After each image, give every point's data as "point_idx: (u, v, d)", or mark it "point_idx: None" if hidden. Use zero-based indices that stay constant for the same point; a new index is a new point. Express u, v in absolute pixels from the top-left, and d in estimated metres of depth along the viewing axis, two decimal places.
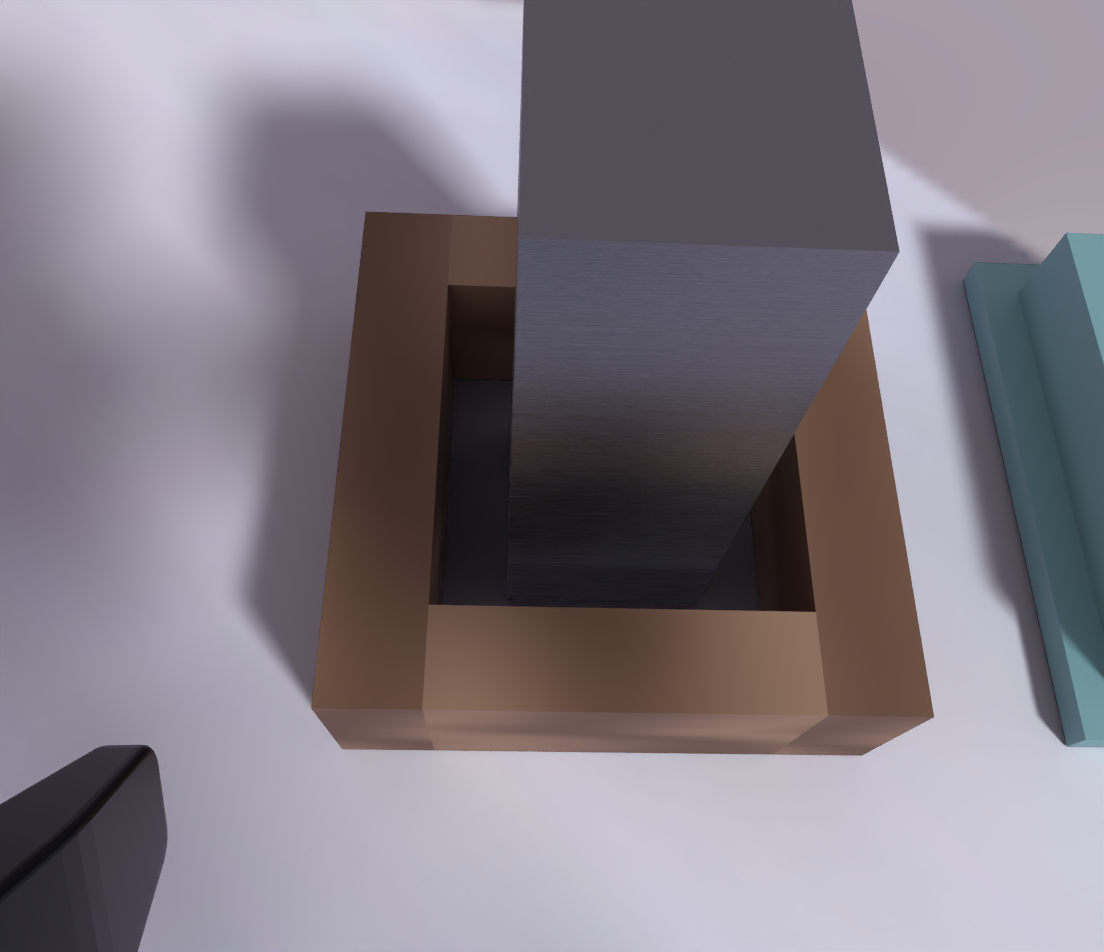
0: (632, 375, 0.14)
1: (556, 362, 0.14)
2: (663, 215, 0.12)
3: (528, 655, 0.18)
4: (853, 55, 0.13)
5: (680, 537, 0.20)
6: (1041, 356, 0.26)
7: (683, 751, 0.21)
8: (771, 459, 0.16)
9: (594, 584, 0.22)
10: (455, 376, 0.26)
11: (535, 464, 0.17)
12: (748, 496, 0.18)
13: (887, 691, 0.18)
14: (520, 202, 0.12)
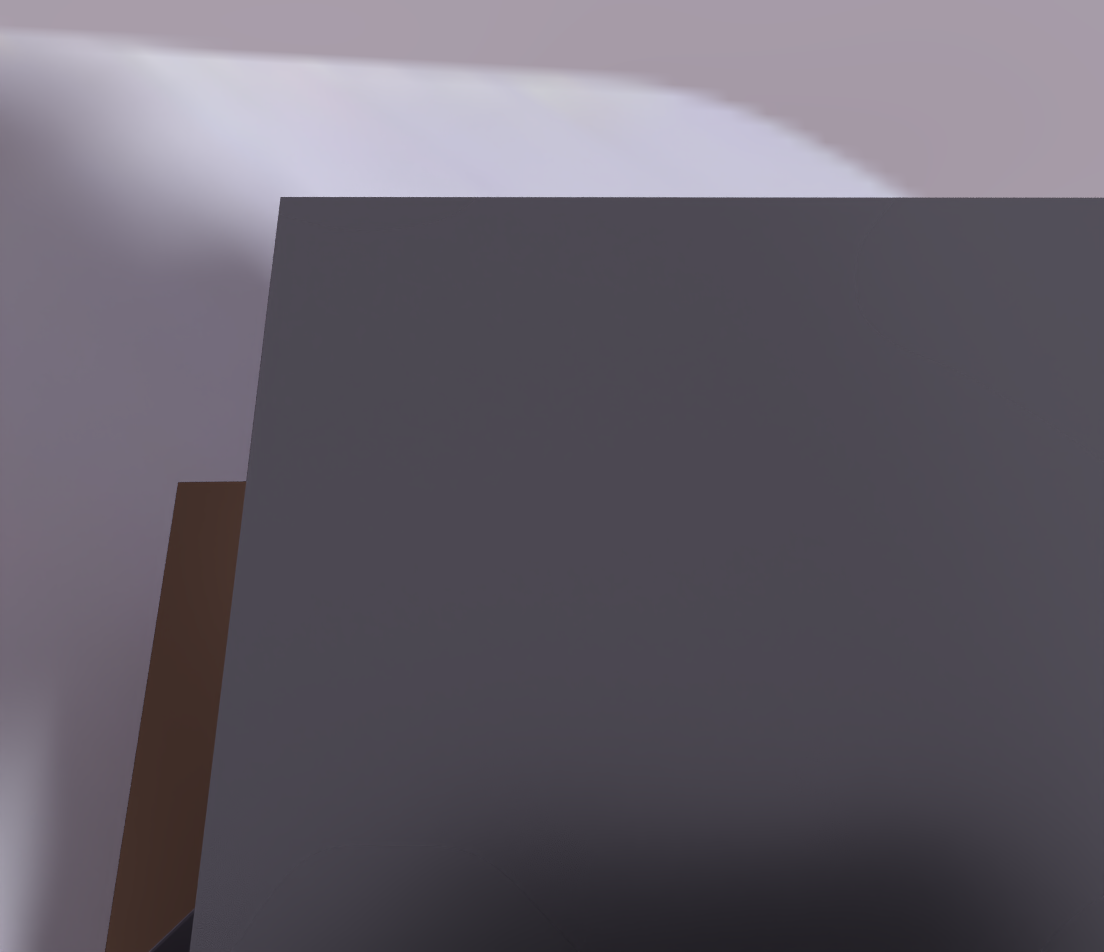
0: None
1: None
2: None
3: None
4: None
5: None
6: None
7: None
8: None
9: None
10: None
11: None
12: None
13: None
14: None
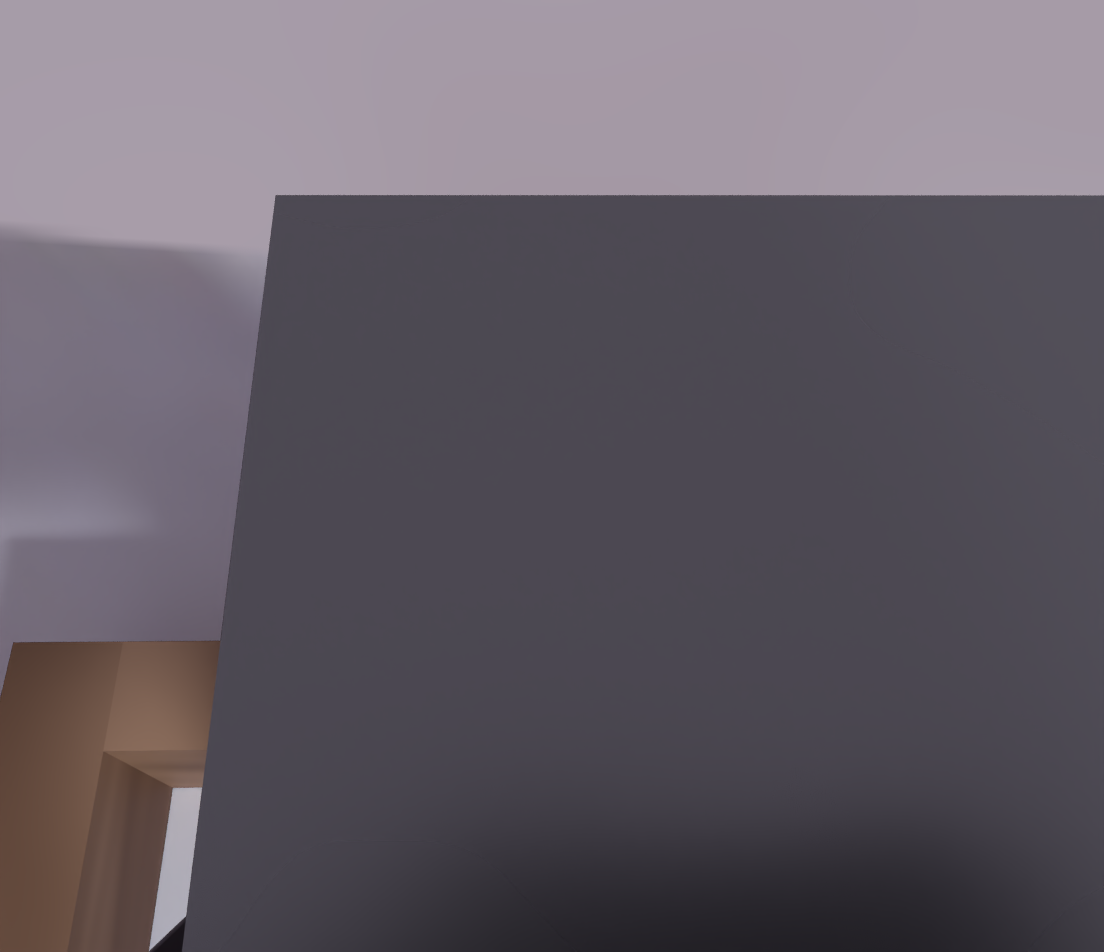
0: None
1: None
2: None
3: None
4: None
5: None
6: None
7: None
8: None
9: None
10: (172, 786, 0.21)
11: None
12: None
13: None
14: None
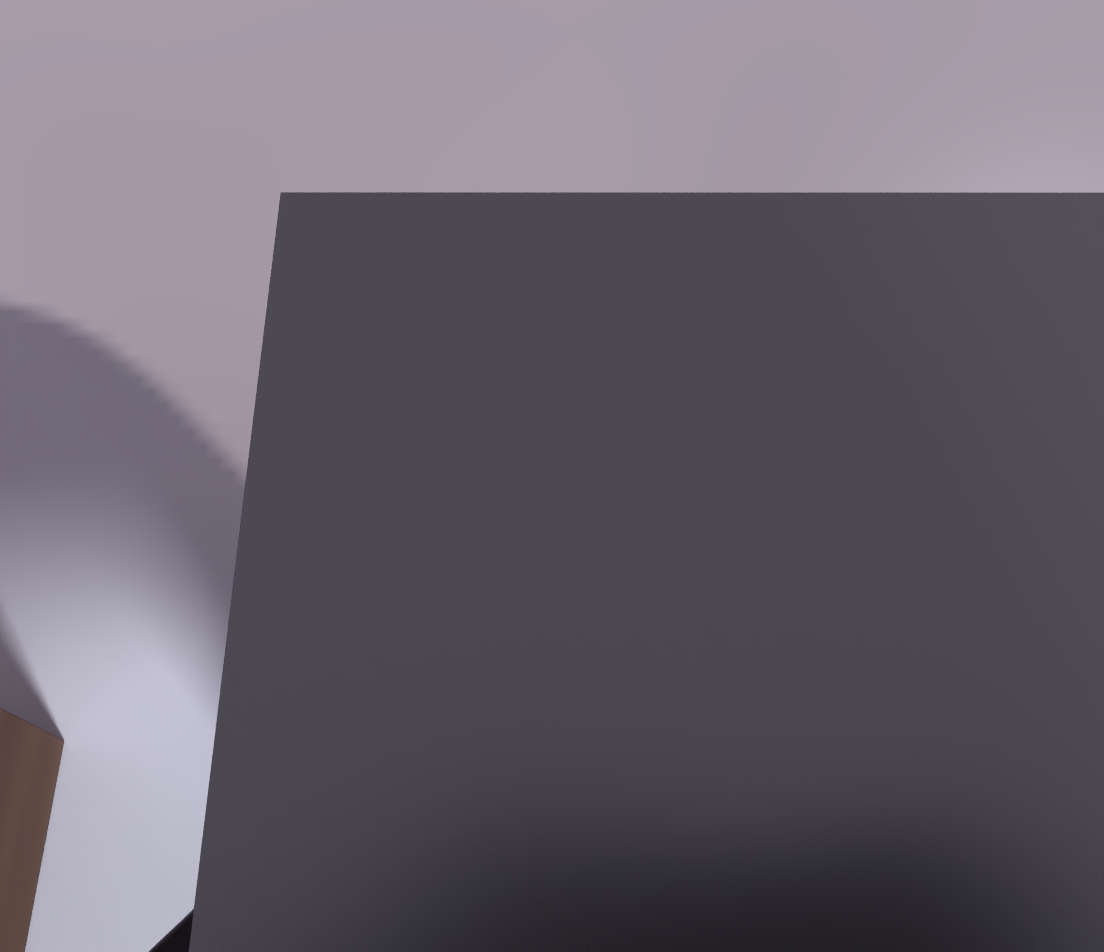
0: None
1: None
2: None
3: None
4: None
5: None
6: None
7: None
8: None
9: None
10: None
11: None
12: None
13: None
14: None
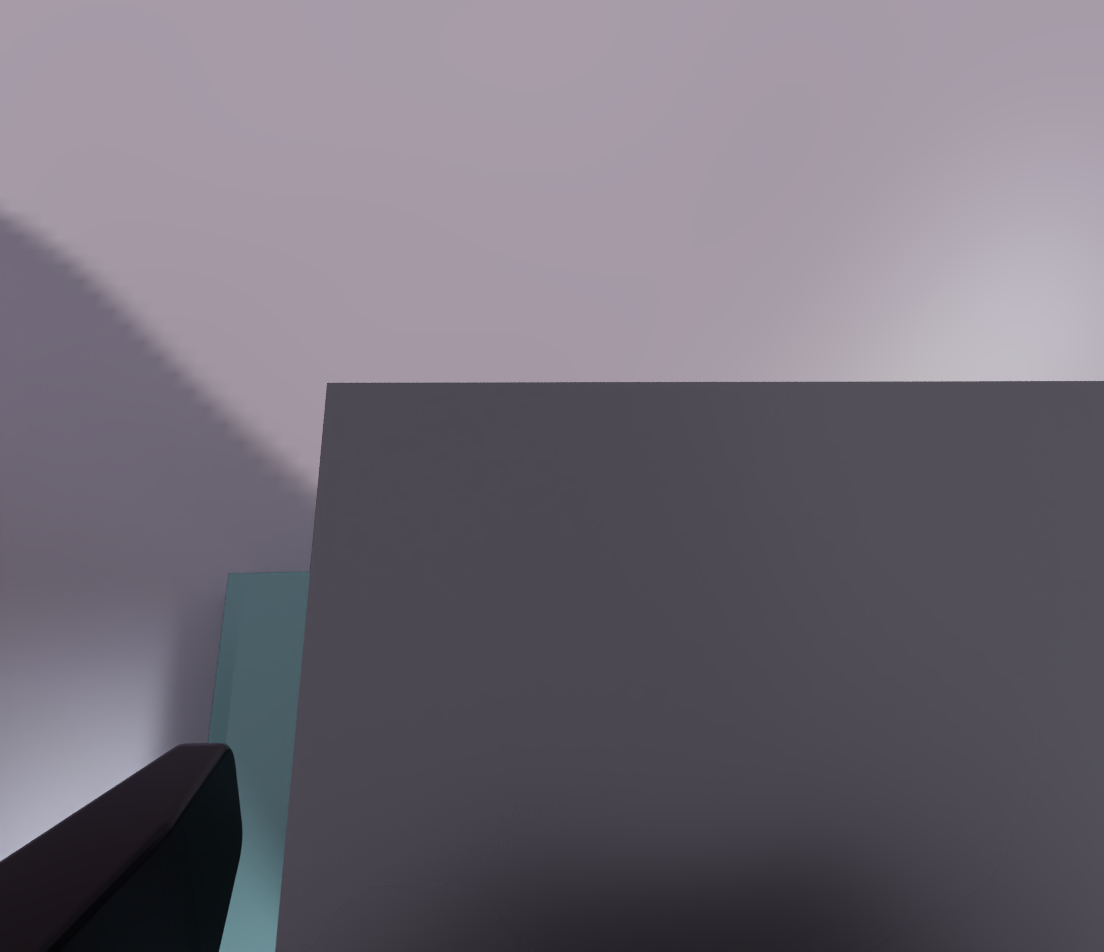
0: None
1: None
2: None
3: None
4: None
5: None
6: None
7: None
8: None
9: None
10: None
11: None
12: None
13: None
14: None
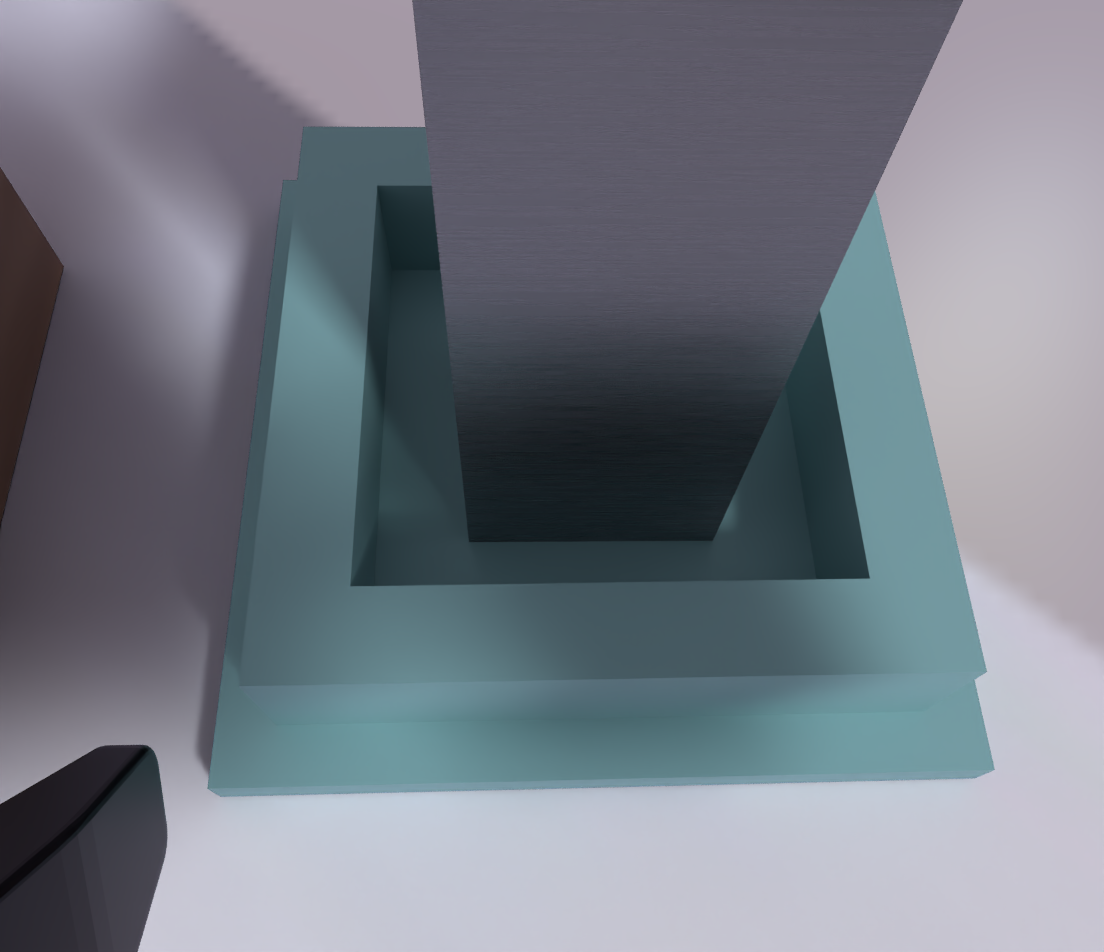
0: (609, 114, 0.09)
1: (488, 88, 0.09)
2: None
3: None
4: None
5: (689, 434, 0.14)
6: None
7: None
8: (818, 286, 0.11)
9: (579, 515, 0.17)
10: None
11: (479, 307, 0.12)
12: (784, 358, 0.13)
13: None
14: None
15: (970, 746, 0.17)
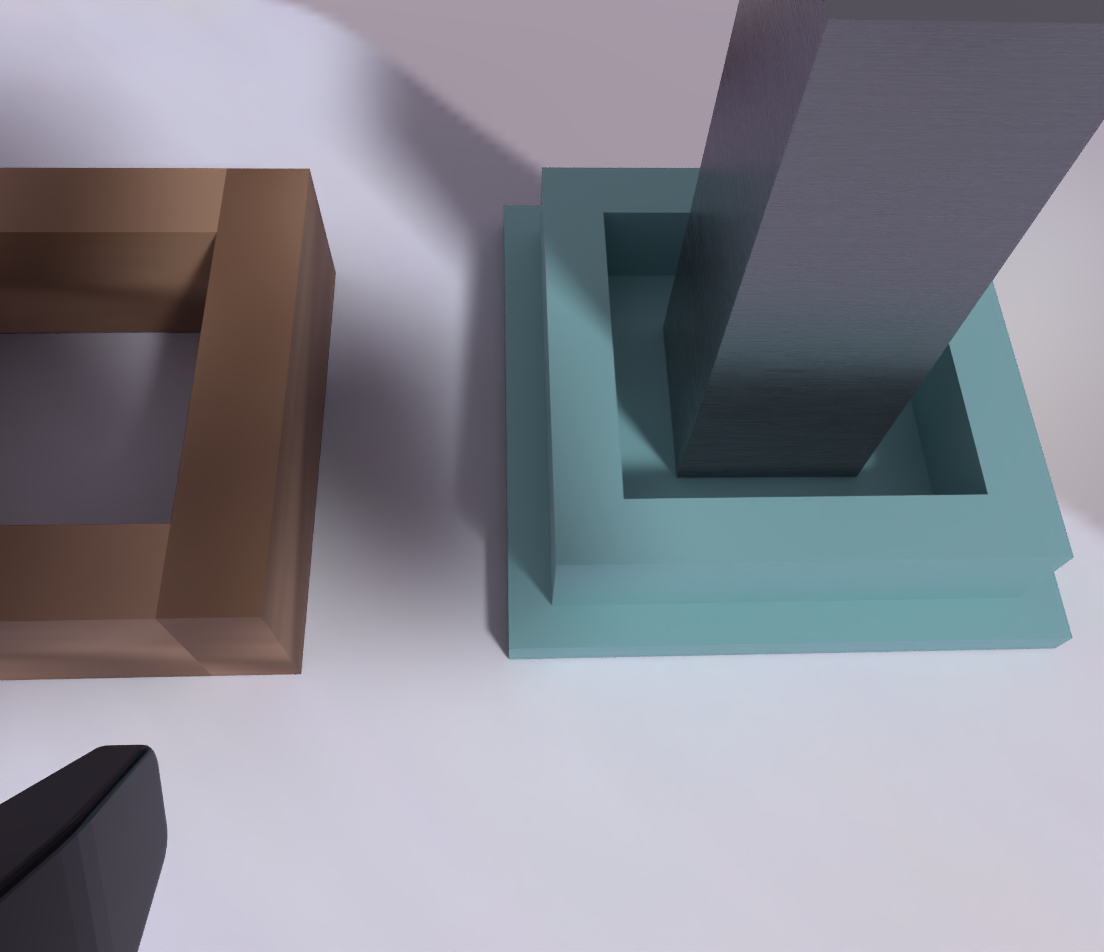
0: (882, 184, 0.15)
1: (816, 170, 0.15)
2: None
3: None
4: None
5: (866, 390, 0.21)
6: (542, 290, 0.26)
7: (117, 675, 0.22)
8: (980, 286, 0.18)
9: (766, 455, 0.23)
10: None
11: (757, 300, 0.18)
12: (945, 335, 0.19)
13: (221, 594, 0.19)
14: None
15: (1054, 621, 0.23)
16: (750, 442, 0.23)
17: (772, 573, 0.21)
